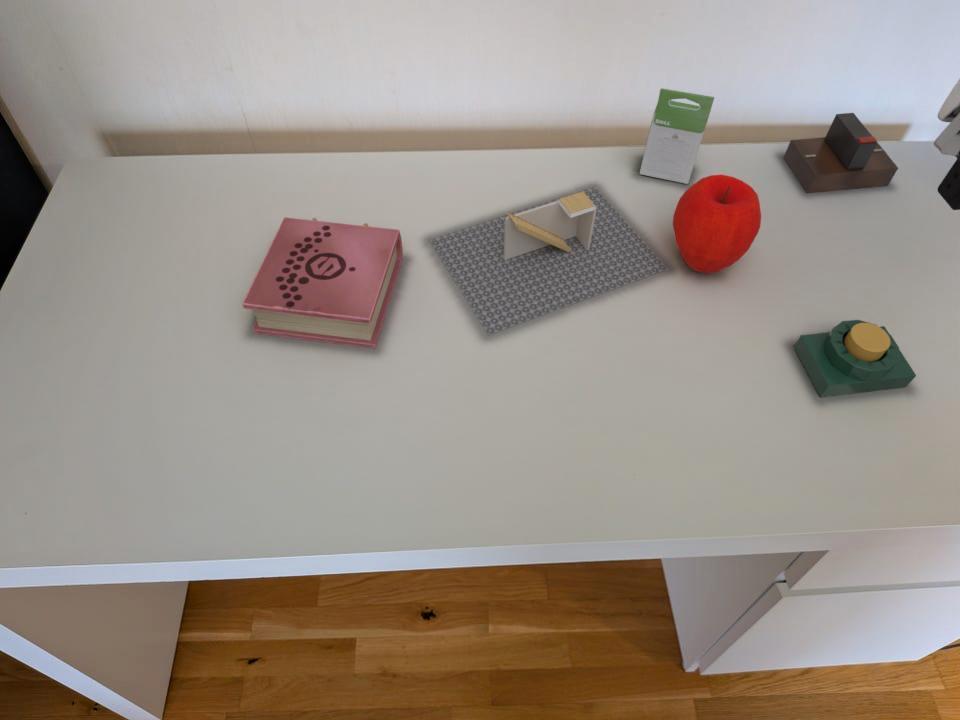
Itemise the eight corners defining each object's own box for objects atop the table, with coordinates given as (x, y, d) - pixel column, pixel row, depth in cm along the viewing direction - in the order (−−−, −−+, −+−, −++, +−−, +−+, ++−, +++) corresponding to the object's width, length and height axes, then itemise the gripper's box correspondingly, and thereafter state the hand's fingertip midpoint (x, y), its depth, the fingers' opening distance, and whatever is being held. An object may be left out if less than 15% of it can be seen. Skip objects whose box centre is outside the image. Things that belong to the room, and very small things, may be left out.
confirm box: (875, 337, 78) (892, 315, 75) (906, 387, 74) (925, 365, 71) (793, 347, 77) (806, 324, 74) (819, 397, 73) (835, 376, 70)
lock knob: (824, 139, 96) (837, 112, 93) (840, 137, 96) (854, 111, 93) (846, 169, 92) (861, 143, 89) (864, 168, 92) (879, 141, 89)
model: (589, 249, 87) (597, 202, 81) (515, 275, 84) (518, 228, 78) (576, 233, 89) (584, 186, 82) (503, 258, 86) (505, 211, 80)
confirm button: (871, 330, 74) (879, 320, 73) (889, 359, 72) (898, 349, 71) (837, 334, 74) (844, 324, 73) (854, 363, 72) (861, 353, 70)
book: (404, 254, 86) (400, 224, 82) (375, 348, 77) (369, 319, 73) (295, 242, 87) (286, 212, 83) (253, 333, 78) (242, 304, 74)
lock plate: (860, 151, 100) (871, 132, 97) (887, 185, 95) (899, 167, 92) (783, 157, 99) (791, 138, 96) (806, 193, 94) (815, 174, 91)
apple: (647, 245, 87) (668, 166, 78) (713, 228, 89) (742, 149, 80) (686, 299, 82) (714, 222, 72) (756, 280, 84) (793, 202, 74)
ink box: (692, 168, 97) (719, 81, 86) (687, 185, 95) (715, 98, 84) (643, 158, 98) (664, 71, 87) (638, 175, 96) (659, 87, 85)
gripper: (1150, -29, 52) (1002, 168, 67) (970, -18, 51) (859, 181, 65) (1228, 19, 48) (1051, 219, 62) (1032, 33, 46) (898, 234, 61)
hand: (953, 199), depth 64 cm, fingers closed
